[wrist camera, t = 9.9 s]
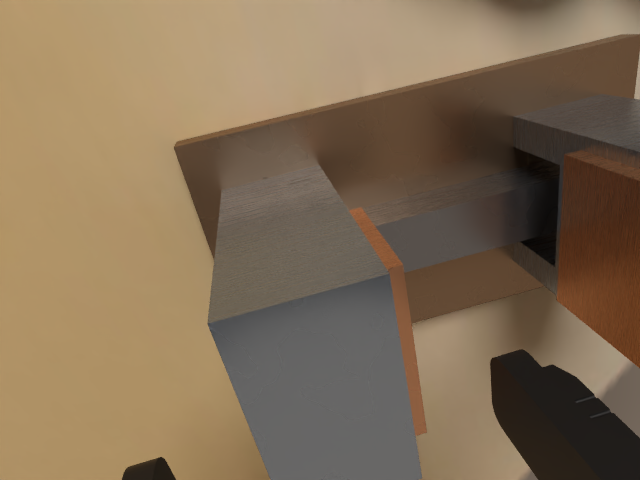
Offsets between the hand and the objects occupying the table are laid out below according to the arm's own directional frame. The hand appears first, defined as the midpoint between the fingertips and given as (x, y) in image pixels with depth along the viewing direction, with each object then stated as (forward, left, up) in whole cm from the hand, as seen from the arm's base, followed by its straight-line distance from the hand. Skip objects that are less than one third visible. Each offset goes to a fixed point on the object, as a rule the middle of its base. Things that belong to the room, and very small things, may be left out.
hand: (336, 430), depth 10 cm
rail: (0, -6, -11) cm, 12 cm away
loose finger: (0, 0, -10) cm, 10 cm away
